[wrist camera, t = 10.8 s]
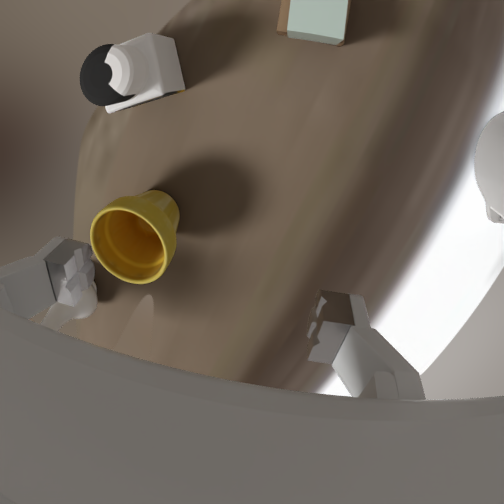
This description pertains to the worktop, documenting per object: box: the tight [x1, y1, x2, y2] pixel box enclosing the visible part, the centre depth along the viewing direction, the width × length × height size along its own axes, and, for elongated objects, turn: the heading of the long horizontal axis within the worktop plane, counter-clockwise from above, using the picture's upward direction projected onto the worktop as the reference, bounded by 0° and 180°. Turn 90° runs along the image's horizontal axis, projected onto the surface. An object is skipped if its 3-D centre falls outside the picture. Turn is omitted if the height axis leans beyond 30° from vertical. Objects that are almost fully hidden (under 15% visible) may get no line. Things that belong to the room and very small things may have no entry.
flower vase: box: [40, 280, 98, 331], centre depth 41 cm, size 13×18×25 cm
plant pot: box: [90, 190, 180, 284], centre depth 38 cm, size 10×10×10 cm
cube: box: [287, 0, 348, 45], centre depth 23 cm, size 5×5×5 cm
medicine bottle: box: [80, 33, 185, 113], centre depth 28 cm, size 7×7×12 cm
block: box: [277, 0, 351, 47], centre depth 26 cm, size 7×7×3 cm
